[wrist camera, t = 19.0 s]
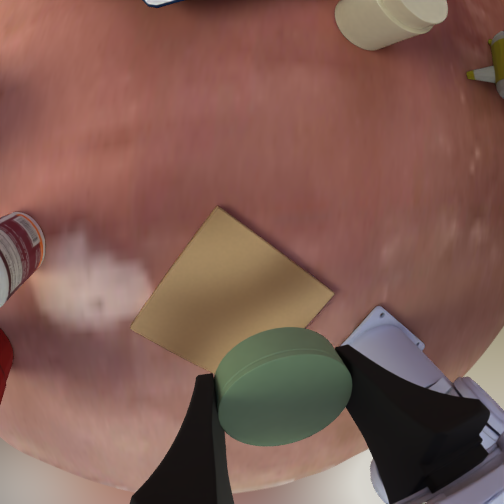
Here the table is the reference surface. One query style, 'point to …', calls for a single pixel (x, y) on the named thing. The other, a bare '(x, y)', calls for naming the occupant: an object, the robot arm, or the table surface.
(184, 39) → the table surface
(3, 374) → the plastic cup
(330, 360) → the jar lid
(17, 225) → the pill bottle
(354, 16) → the jar
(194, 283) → the plate
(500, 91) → the alarm clock
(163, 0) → the plate
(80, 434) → the table surface
